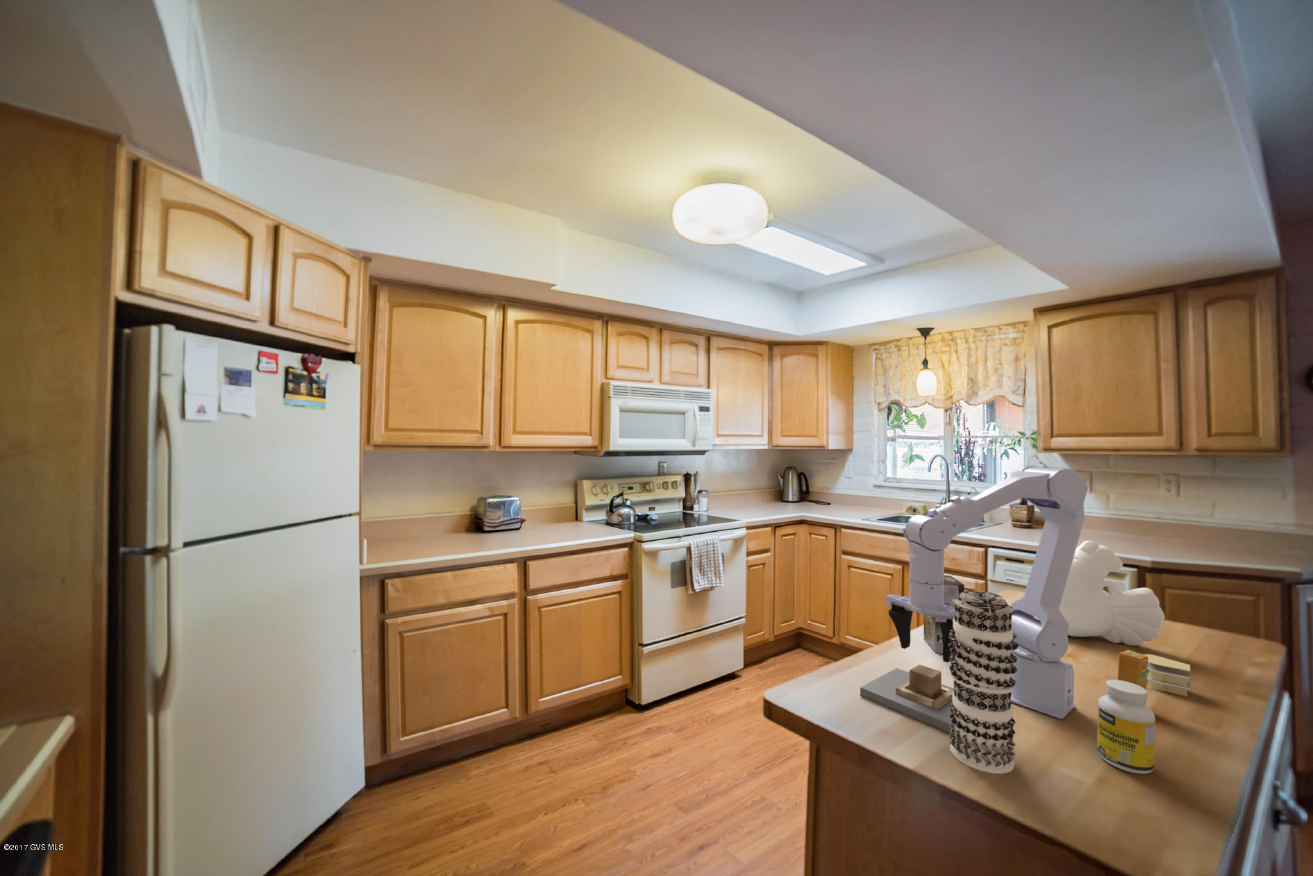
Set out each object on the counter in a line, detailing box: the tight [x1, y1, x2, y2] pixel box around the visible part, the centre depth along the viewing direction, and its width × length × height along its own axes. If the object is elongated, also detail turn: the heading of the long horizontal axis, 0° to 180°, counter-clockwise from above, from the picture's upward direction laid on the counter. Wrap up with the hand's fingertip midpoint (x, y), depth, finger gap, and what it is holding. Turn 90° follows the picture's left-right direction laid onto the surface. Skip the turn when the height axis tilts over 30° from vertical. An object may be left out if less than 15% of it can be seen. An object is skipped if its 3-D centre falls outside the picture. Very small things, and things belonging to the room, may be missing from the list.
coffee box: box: [923, 574, 965, 654], centre depth 124 cm, size 9×6×16 cm
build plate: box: [859, 667, 954, 734], centre depth 97 cm, size 18×14×2 cm
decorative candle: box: [948, 589, 1019, 775], centre depth 80 cm, size 9×9×25 cm
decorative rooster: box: [1059, 540, 1166, 647], centre depth 128 cm, size 25×16×25 cm
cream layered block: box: [1143, 653, 1191, 697], centre depth 104 cm, size 10×9×6 cm
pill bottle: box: [1096, 679, 1156, 775], centre depth 79 cm, size 6×6×12 cm
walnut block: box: [908, 664, 942, 700], centre depth 97 cm, size 4×4×6 cm
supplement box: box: [1117, 649, 1148, 704], centre depth 96 cm, size 3×3×10 cm
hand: (925, 653), depth 97 cm, fingers open, 7 cm apart
